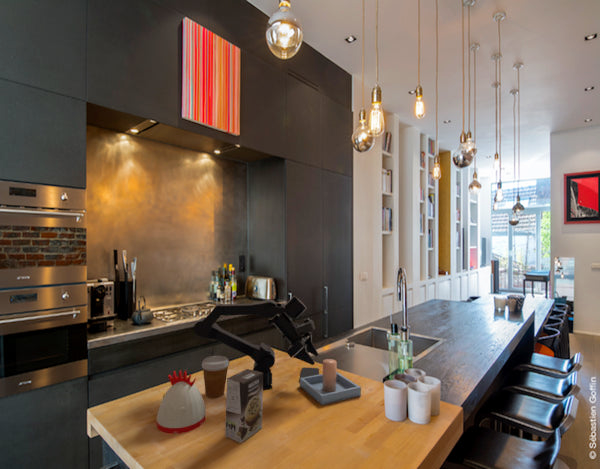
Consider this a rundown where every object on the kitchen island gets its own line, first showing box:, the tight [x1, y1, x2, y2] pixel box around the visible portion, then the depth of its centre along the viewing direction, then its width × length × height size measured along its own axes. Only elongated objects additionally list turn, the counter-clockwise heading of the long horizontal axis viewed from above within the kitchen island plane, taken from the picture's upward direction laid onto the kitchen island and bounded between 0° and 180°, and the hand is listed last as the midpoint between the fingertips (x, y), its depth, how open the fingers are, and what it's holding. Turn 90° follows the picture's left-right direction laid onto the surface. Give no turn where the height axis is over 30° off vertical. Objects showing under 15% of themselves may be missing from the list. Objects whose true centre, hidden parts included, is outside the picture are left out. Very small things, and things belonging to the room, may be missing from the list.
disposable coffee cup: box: [201, 355, 230, 399], centre depth 119 cm, size 10×10×12 cm
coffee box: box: [224, 368, 264, 444], centre depth 96 cm, size 9×6×16 cm
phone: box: [298, 366, 320, 384], centre depth 136 cm, size 7×1×15 cm
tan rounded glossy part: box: [322, 358, 338, 392], centre depth 123 cm, size 5×5×10 cm
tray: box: [299, 371, 362, 406], centre depth 123 cm, size 16×16×3 cm
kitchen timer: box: [156, 369, 207, 435], centre depth 102 cm, size 14×14×15 cm
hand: (315, 359), depth 124 cm, fingers open, 9 cm apart
